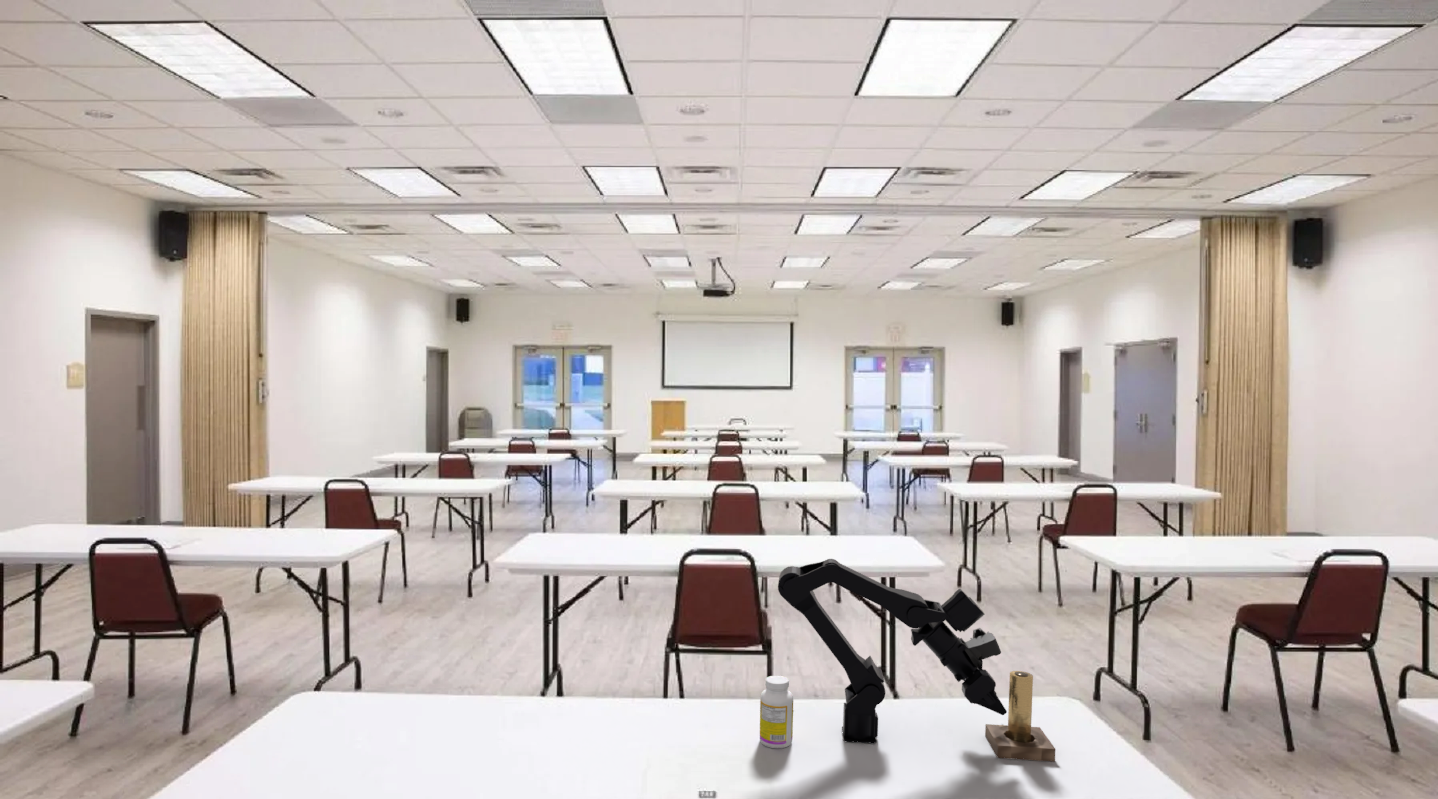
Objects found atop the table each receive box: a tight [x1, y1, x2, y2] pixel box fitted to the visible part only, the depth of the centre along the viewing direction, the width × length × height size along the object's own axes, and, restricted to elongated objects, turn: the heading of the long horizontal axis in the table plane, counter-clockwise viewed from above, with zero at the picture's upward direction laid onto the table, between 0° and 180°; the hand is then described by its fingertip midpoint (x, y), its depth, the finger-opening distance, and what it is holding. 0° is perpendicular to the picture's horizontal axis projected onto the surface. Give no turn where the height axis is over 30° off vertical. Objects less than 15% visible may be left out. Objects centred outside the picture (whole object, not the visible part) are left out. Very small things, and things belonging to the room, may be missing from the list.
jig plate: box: [984, 723, 1056, 763], centre depth 167 cm, size 11×10×2 cm
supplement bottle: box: [759, 675, 794, 749], centre depth 167 cm, size 7×7×13 cm
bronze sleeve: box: [1007, 670, 1034, 743], centre depth 167 cm, size 4×4×15 cm
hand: (999, 704), depth 167 cm, fingers open, 9 cm apart
